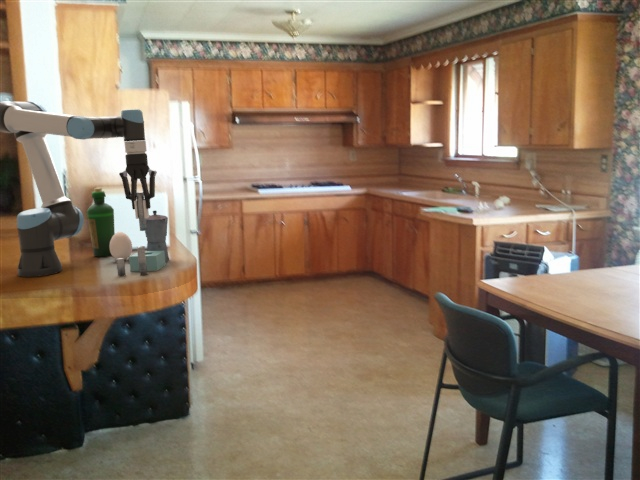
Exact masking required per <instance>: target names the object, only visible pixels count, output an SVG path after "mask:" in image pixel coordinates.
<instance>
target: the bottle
mask: <svg viewBox="0 0 640 480" xmlns="http://www.w3.org/2000/svg"><path fill="white" fill-rule="evenodd" d="M93 190H94V191H92V192H91V198H93V204H91V205H89V207H88V209H86V216H87V217H86V218H87V223H88V227H89V228H88V230H89V235H90V242H91V246H92V253H93V256H95V257H97V258H106V257H111V256H112V255H111V252H110V247H109V245H110V241H111V238H112V237H113V235H114V234H116V233H115V211H114V208H113V206H111V205H110V204H108V203H107V202H105V199H106V192H105V191H104V190H103V188H102V187H95V188H93Z"/></svg>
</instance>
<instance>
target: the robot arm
mask: <svg viewBox="0 0 640 480" xmlns="http://www.w3.org/2000/svg"><path fill="white" fill-rule="evenodd" d="M0 132H2V133H5V134H13V135H14V137H15V140H16V141H17V142H19V143H20V144H22V147H23V150H24V153H25V156H26V159H27V162H28V164H29V167H30V171H31V173H32V174H31V175H32V176H33V179H34V182H35V186H36V188H37V191H38V194H39V197H40V200H41V202H42V204H41V206H40V207H37V208H31V209H27V210H23V211H21V212H19V213H18V214H17V216H16V227H17V234H18V242H19V249H20V257H19V262H18V265H17V275H18V276H19V277H24V278H25V277H26V278H27V277H28V278H31V277H33V278H34V277H43V276H48V275H54V274H58V273H60V272H62V271H63V266H62V262H61V260H60V258H59V255H58V254H57V251H56V247H55V241H59V240H62V239H69V238H72V237H74V236H77V235H78V234H79V233H80V232H81V231H82V228H83V226H84V223H85V221H84V215H83V212H82V210H81V209H80V208H78V207H77V206H74V205H73V202H72V200H71V199H69V198H67V196H66V195H65V192H64V191H65V190H64V189H63V186H62V182H61V180H60V177H59V174H58V171H57V169H56V165H55V161H54V160H53V156H52V154H51V151H50V150H51V149H50V148H49V147H50V146H49V145H48V141H47V138H46V137H47V136H48V135H54V136H61V137H71V138H73V139H74V140H91V139H114V138H116V139H117V138H122V139H123V147H124V153H126V154H125V157H124V158H125V165H126V167H125V170H123V171H121V172H119V177H120V178H121V181H122V186H123V191H124V195H125V198H126V200H129V201H131V208H132V210H134V212H135V219H138V220H139V216H138V206H137V196H136V192H137V191H138V180H139V181H140V184H141V187H142V188H141V189H142V192H143V194H144V200H143V208H144V217H145V218H148V217H149V215H150V212H149V209H151V199H152V198H155V196H156V194H155V193H156V192H155V191H156V183H155V182H156V176H157V174H158V173H157V171H156V170H154V169H150V166H149V163H148V155H147V153H146V152H147V142H146V141H147V140H146V136H145V121H144V115H143V111H142V110H141V109H140V108H139V109H138V108H137V109H136V108H135V109H133V108H132V109H122V110H120V115H119V116H84V115H82V116H81V115H74V114H73V115H72V114H64V113H57V112H49V111H47V109H46V108H45V107H44V106H43V105H42V104H40V103H38V102H34V101H10V100H9V101H7V100H5V101H0ZM147 175H148V176H149V185H148V183H147ZM128 177H130V182H129V179H128ZM148 186H149V187H148Z"/></svg>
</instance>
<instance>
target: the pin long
mask: <svg viewBox="0 0 640 480" xmlns="http://www.w3.org/2000/svg"><path fill="white" fill-rule="evenodd" d="M136 196H137V206H138V216H139V218H138V223H139V231H140V232H145V231H146V230H147V222H146V218H145V217H144V208H143V200H144V199H145V198H144V194H143V191H138V192H136Z"/></svg>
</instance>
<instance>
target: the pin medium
mask: <svg viewBox="0 0 640 480" xmlns="http://www.w3.org/2000/svg"><path fill="white" fill-rule="evenodd" d="M136 250H137V252H138V261H139V270H140V271H139V275H140V276H146V275H148V271H147V264H146V255H145V251H146V247H145V246H143V245H141V246H136Z"/></svg>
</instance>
